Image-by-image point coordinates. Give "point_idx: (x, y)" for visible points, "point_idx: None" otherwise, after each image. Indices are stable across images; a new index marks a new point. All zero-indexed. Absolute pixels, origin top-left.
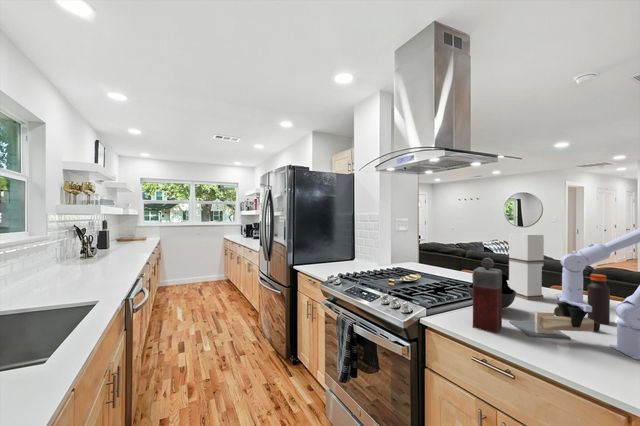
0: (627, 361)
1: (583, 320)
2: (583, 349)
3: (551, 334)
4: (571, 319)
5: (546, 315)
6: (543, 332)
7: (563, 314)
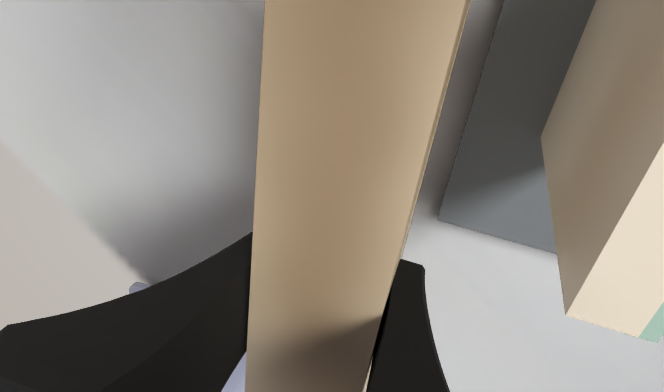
0: (107, 220)
1: (246, 380)
2: (236, 114)
3: (535, 88)
4: (234, 268)
5: (624, 147)
6: (595, 13)
7: (403, 338)
